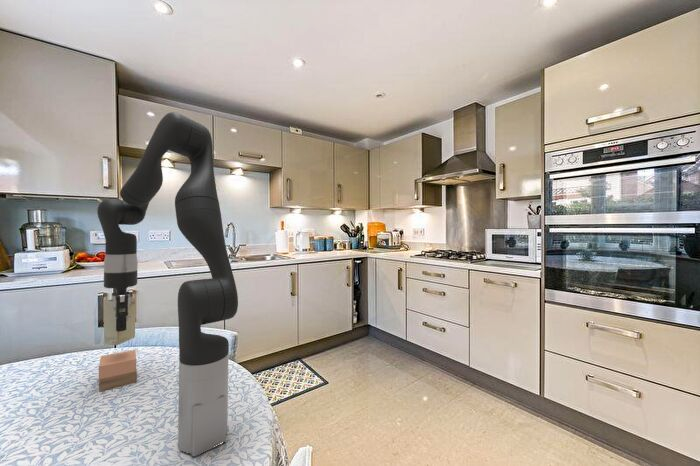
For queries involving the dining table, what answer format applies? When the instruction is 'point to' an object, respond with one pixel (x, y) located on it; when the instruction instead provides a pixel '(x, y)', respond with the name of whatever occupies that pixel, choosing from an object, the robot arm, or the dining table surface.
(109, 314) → the skincare box
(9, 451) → the dining table surface
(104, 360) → the terracotta slab
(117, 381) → the walnut slab
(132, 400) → the dining table surface
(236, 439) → the dining table surface
